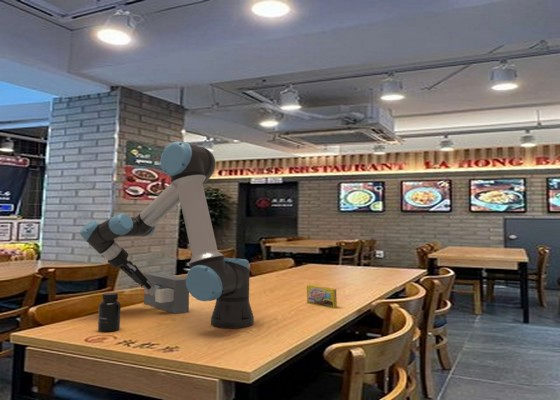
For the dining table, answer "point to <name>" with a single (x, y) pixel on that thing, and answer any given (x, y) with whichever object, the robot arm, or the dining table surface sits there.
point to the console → (180, 292)
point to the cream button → (164, 295)
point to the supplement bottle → (109, 313)
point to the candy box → (321, 296)
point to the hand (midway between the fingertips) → (154, 293)
